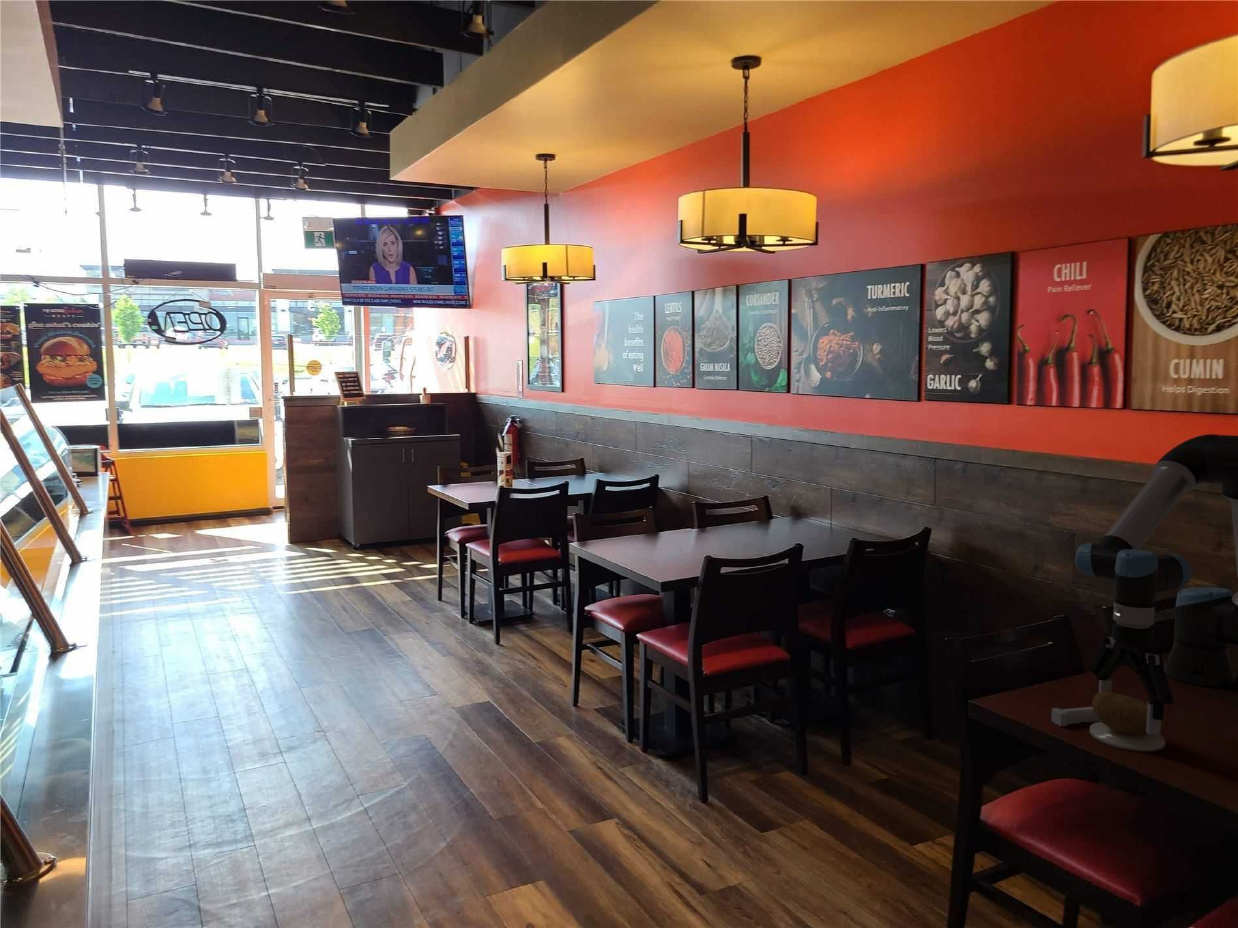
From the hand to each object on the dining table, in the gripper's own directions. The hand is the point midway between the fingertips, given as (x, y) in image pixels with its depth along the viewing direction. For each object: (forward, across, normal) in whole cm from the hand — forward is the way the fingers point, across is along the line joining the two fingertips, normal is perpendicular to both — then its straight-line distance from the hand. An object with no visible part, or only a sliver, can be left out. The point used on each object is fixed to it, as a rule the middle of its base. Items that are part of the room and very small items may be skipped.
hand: (1127, 720), depth 186 cm
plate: (+4, 0, 0) cm, 4 cm away
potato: (+3, 0, 0) cm, 3 cm away
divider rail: (+4, -10, +2) cm, 10 cm away
